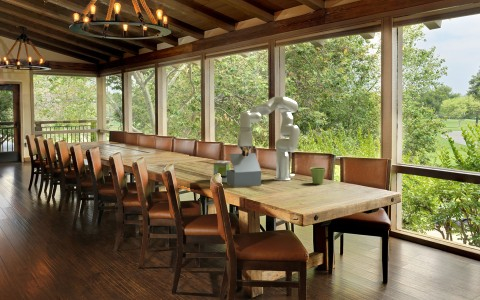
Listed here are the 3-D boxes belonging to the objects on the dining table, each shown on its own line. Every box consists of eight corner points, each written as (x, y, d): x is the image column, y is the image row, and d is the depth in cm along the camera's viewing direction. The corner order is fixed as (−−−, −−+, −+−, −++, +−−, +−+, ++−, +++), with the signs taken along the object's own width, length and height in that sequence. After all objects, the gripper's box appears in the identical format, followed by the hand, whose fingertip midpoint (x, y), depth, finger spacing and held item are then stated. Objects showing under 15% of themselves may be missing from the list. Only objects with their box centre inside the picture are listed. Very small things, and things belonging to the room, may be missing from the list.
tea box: (226, 182, 311) (226, 162, 309) (213, 182, 313) (213, 162, 311) (230, 179, 325) (230, 160, 324) (218, 179, 327) (218, 160, 326)
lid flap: (254, 153, 307) (258, 147, 301) (260, 171, 298) (264, 165, 292) (229, 154, 300) (232, 147, 294) (234, 173, 291) (238, 166, 285)
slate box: (251, 182, 314) (252, 168, 313) (260, 185, 299) (261, 171, 298) (226, 183, 307) (226, 170, 306) (234, 187, 292) (234, 173, 291)
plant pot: (329, 183, 310) (329, 168, 309) (320, 185, 301) (320, 169, 300) (315, 181, 318) (315, 166, 317) (306, 183, 309) (306, 168, 308)
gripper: (253, 129, 303) (253, 155, 305) (233, 130, 297) (233, 156, 299) (257, 130, 296) (257, 156, 298) (236, 130, 290) (236, 157, 292)
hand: (245, 155), depth 298 cm, fingers closed
